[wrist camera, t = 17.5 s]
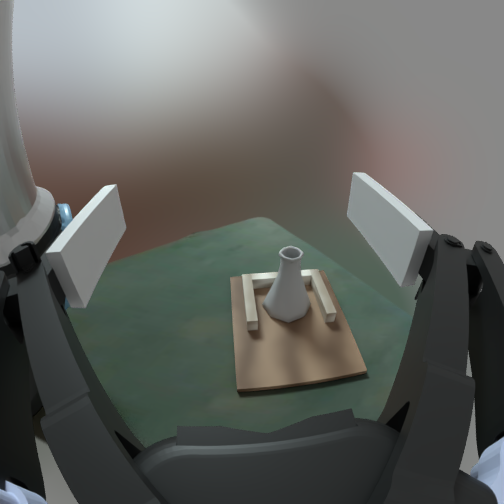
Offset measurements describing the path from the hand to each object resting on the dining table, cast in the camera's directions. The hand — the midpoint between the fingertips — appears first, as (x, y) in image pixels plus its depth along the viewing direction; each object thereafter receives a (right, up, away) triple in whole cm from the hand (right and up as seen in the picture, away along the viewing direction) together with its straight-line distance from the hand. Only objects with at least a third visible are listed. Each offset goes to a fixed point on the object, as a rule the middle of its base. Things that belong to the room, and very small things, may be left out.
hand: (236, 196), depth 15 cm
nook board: (+7, -14, +26) cm, 30 cm away
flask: (+6, -11, +28) cm, 31 cm away
